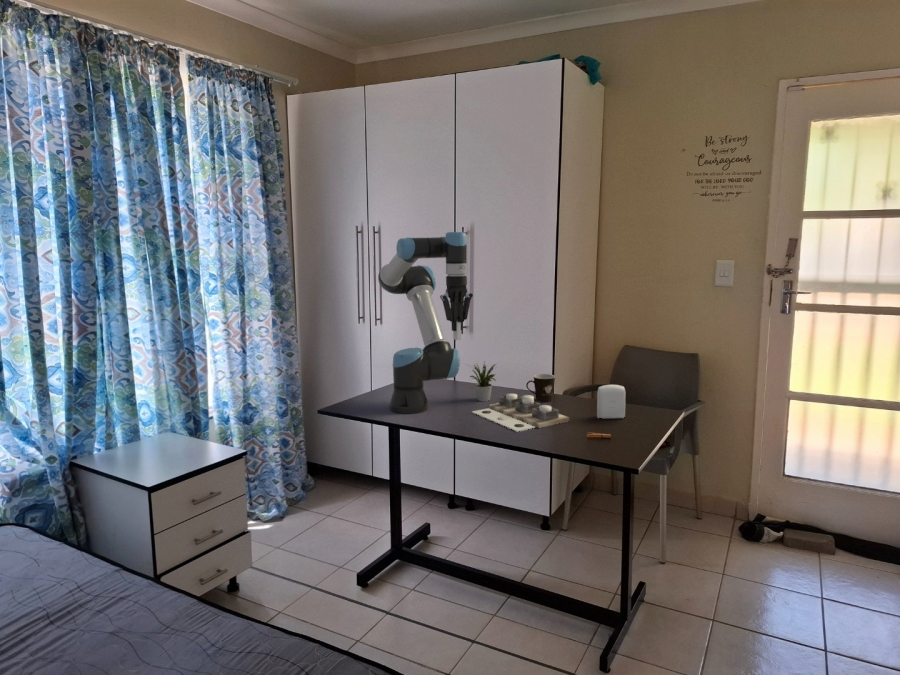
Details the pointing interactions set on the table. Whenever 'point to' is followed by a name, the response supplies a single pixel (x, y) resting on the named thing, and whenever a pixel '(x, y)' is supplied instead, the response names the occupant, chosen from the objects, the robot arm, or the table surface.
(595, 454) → the table surface
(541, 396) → the coffee mug
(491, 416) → the pattern card
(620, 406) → the photo printer
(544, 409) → the button
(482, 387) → the house plant
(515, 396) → the button
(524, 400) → the button middle
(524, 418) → the button board
